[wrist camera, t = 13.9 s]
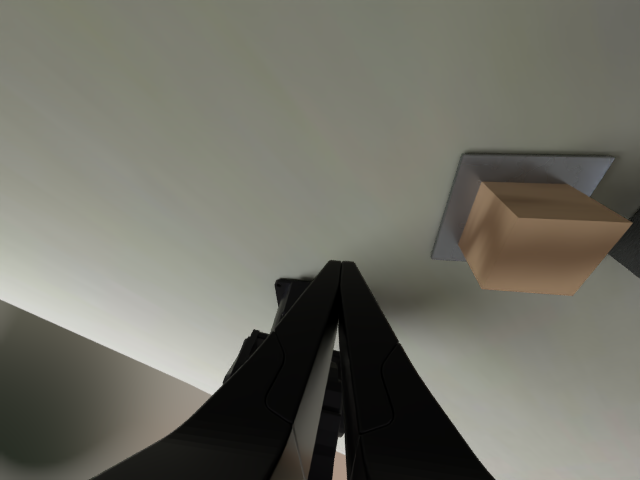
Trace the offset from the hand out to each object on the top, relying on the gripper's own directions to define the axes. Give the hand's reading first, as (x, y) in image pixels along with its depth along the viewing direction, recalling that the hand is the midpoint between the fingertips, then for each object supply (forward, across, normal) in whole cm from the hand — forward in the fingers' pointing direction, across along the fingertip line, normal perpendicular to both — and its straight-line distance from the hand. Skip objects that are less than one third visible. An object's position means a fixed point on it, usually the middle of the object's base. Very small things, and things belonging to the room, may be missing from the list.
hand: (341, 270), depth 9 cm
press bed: (+12, -12, +4) cm, 17 cm away
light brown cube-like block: (+12, -12, +4) cm, 17 cm away
